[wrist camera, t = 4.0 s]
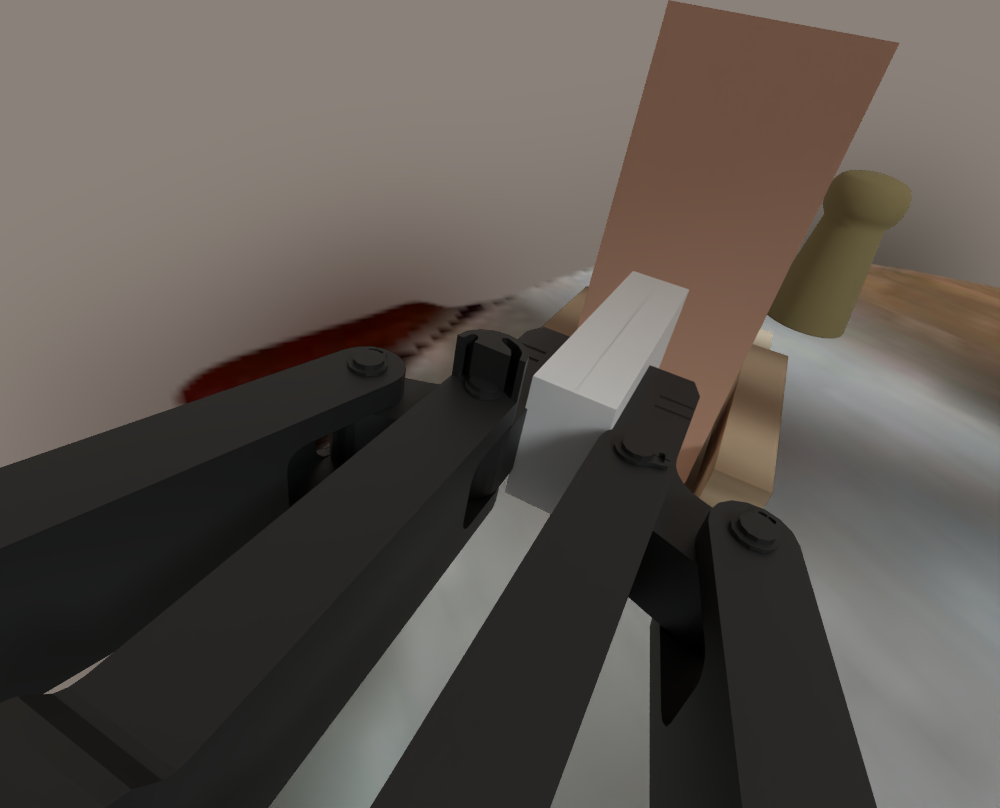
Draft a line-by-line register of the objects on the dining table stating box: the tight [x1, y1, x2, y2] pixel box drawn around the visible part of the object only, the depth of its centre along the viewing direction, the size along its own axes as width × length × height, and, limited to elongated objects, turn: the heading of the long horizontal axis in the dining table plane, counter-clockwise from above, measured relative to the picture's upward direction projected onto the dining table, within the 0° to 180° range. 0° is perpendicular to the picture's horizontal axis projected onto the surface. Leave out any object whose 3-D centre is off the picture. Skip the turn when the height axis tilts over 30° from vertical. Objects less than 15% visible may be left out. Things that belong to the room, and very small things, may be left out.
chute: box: [542, 287, 788, 509], centre depth 31 cm, size 24×11×4 cm, turn 153°
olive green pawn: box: [768, 170, 911, 338], centre depth 41 cm, size 6×6×11 cm
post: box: [577, 0, 899, 484], centre depth 22 cm, size 6×6×16 cm
